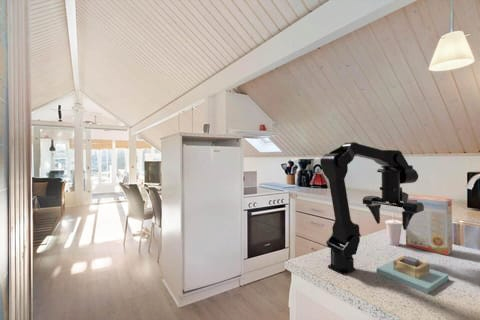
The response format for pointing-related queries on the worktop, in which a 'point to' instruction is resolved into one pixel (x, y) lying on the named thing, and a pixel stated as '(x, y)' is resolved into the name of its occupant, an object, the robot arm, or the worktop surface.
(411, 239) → the cracker box
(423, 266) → the square frame
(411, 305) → the worktop surface
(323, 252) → the worktop surface
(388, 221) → the smoothie
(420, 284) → the post board
